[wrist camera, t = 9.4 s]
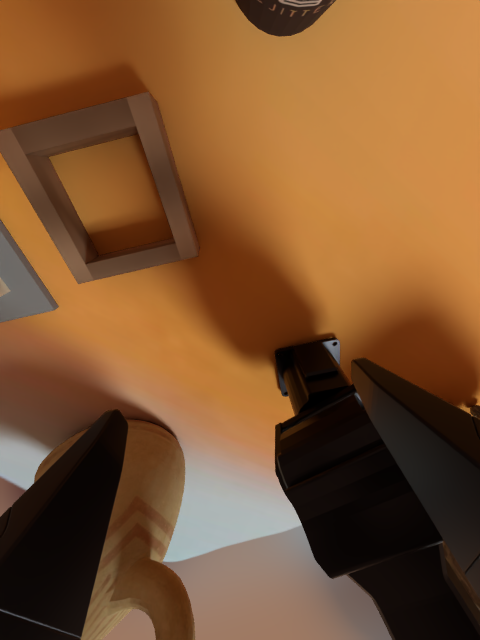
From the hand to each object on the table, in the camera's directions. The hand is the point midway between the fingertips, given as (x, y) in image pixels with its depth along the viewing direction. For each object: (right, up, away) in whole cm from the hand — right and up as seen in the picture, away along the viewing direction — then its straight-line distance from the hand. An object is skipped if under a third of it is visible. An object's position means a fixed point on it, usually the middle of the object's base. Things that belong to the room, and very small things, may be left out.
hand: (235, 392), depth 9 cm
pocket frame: (-8, +11, +8) cm, 16 cm away
